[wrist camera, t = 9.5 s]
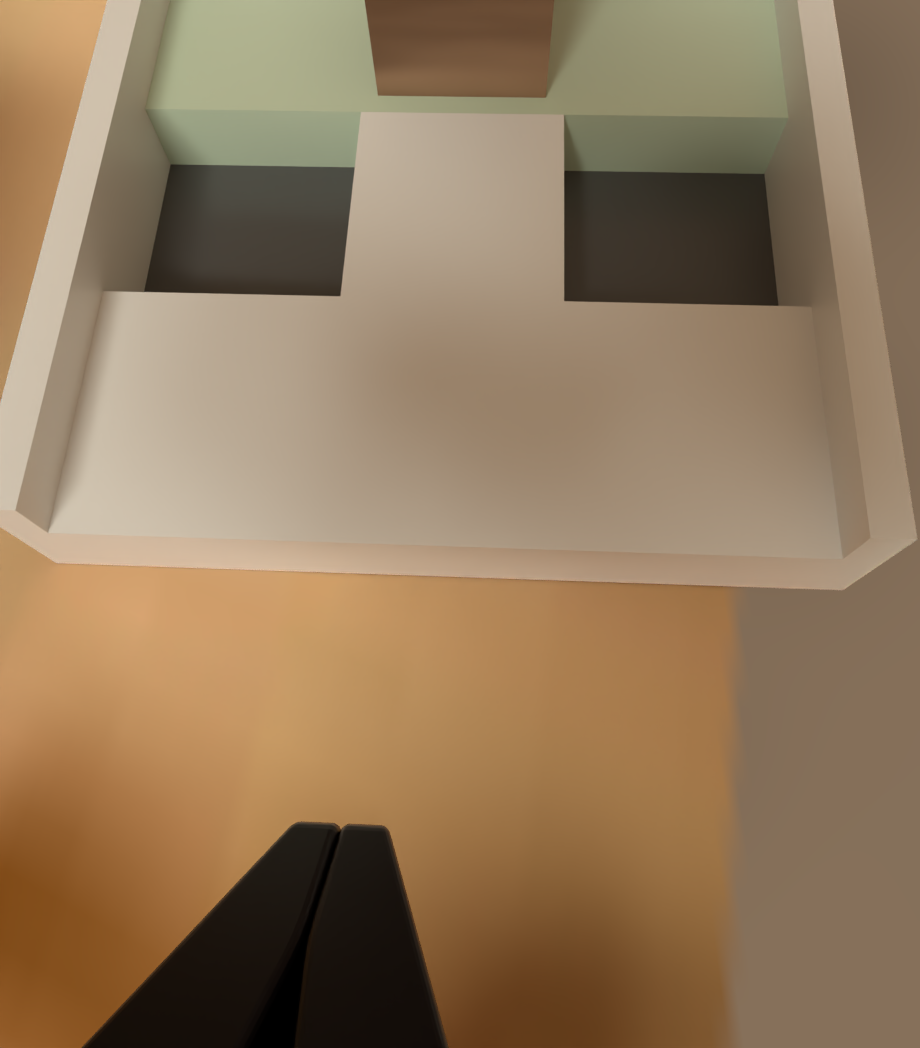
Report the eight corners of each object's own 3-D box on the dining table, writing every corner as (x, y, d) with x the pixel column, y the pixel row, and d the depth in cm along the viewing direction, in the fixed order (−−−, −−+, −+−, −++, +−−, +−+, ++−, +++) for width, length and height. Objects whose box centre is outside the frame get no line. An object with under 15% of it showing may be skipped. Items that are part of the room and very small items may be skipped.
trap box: (843, 590, 22) (917, 539, 18) (56, 563, 23) (-28, 508, 19) (772, 11, 29) (815, -110, 25) (180, 6, 30) (137, -113, 26)
